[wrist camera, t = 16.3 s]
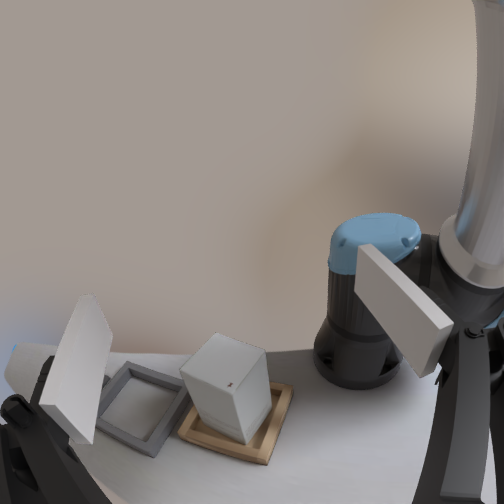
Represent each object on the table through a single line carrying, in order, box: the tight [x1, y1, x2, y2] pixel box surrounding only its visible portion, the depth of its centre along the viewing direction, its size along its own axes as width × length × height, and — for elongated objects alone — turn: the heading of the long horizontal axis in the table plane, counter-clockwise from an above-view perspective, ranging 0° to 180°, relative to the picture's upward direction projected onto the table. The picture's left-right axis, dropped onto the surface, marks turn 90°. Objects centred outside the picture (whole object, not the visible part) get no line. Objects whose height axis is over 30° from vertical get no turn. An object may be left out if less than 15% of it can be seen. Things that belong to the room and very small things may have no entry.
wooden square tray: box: [177, 381, 293, 465], centre depth 38 cm, size 12×12×2 cm
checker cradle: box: [95, 361, 191, 458], centre depth 40 cm, size 13×14×2 cm
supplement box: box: [179, 332, 272, 445], centre depth 35 cm, size 7×7×13 cm
